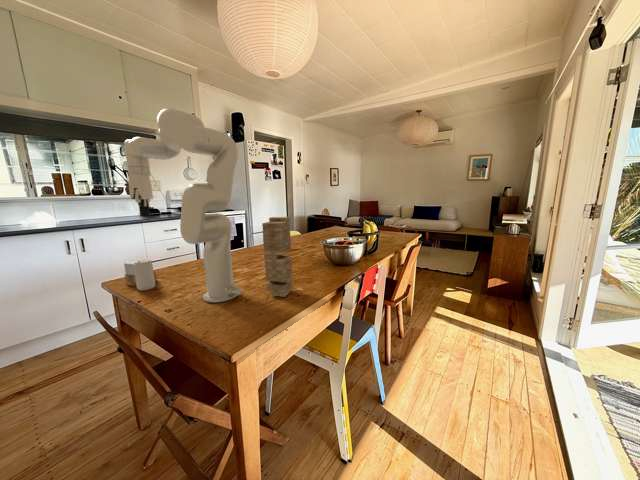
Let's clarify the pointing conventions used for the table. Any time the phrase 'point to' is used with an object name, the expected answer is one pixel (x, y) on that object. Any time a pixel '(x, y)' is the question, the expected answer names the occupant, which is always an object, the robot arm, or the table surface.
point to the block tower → (277, 255)
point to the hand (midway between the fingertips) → (145, 215)
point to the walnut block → (134, 279)
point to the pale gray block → (130, 267)
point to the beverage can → (144, 274)
